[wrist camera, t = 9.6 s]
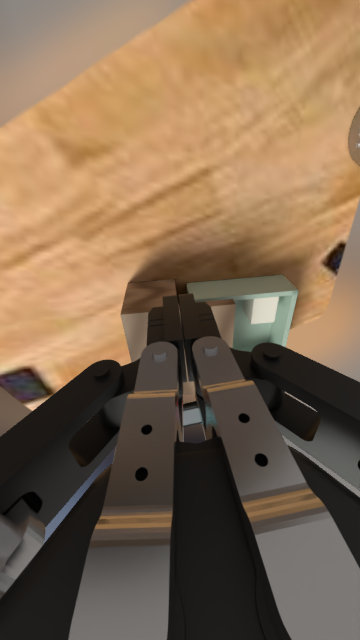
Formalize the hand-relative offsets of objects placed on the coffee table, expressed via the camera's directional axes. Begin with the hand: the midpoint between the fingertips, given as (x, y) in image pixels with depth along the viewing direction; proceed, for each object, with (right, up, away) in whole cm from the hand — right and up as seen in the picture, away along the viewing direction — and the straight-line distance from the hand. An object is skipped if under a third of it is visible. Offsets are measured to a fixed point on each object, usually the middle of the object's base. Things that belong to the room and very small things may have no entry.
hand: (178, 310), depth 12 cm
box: (+10, 0, +36) cm, 37 cm away
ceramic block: (+12, +2, +30) cm, 33 cm away
